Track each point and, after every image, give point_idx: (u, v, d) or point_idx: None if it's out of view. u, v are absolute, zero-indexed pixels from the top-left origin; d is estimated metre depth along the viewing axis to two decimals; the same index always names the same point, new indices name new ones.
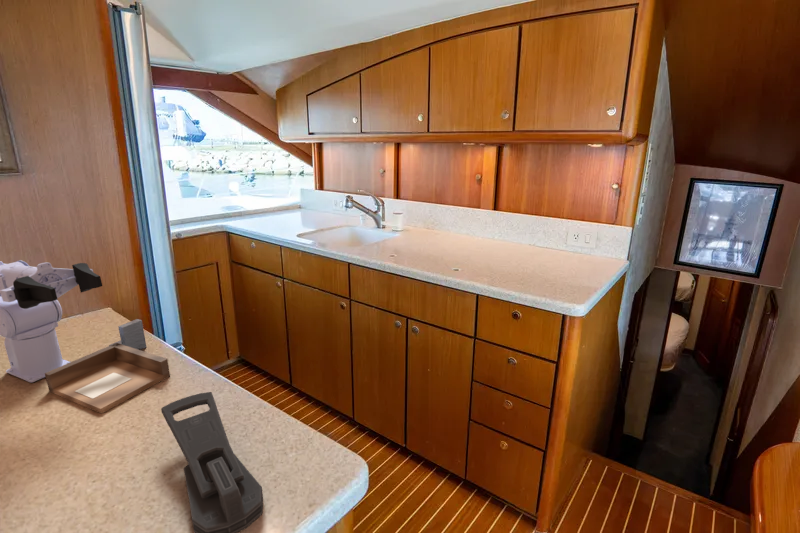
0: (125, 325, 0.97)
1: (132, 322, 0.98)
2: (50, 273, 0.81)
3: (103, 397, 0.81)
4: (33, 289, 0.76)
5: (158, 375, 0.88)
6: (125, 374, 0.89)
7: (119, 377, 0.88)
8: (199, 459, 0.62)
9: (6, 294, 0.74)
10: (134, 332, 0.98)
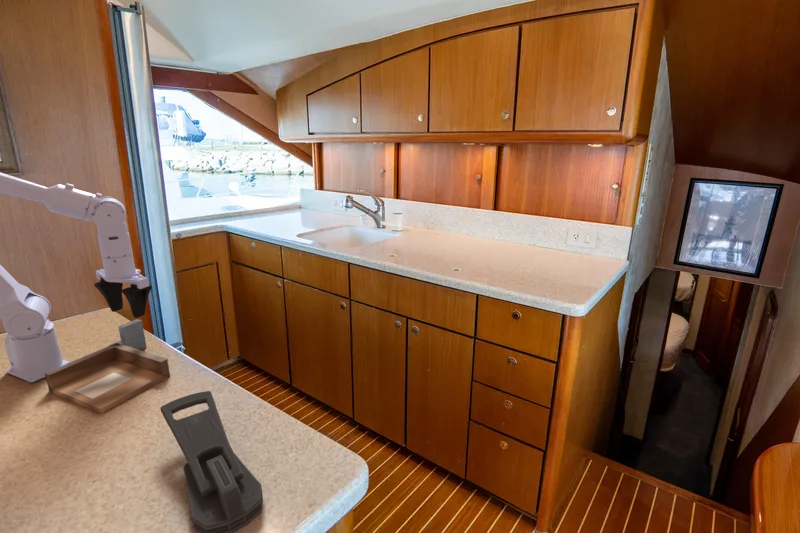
0: (125, 325, 0.97)
1: (132, 322, 0.98)
2: None
3: (103, 397, 0.81)
4: (140, 294, 0.95)
5: (158, 375, 0.88)
6: (125, 374, 0.89)
7: (119, 377, 0.88)
8: (199, 457, 0.62)
9: (146, 286, 0.93)
10: (134, 332, 0.98)
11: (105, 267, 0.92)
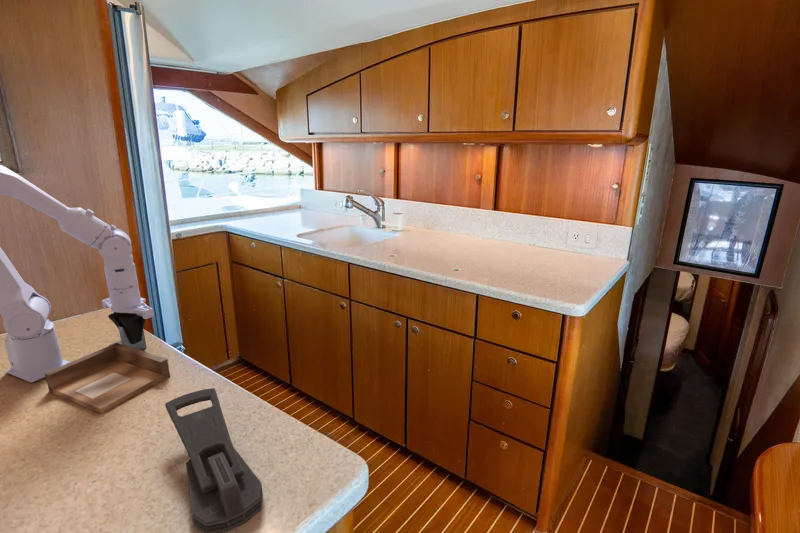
0: None
1: None
2: None
3: (103, 397, 0.81)
4: (137, 321, 0.98)
5: (158, 375, 0.88)
6: (125, 374, 0.89)
7: (119, 377, 0.88)
8: (201, 454, 0.63)
9: (151, 316, 0.95)
10: None
11: (111, 298, 0.94)
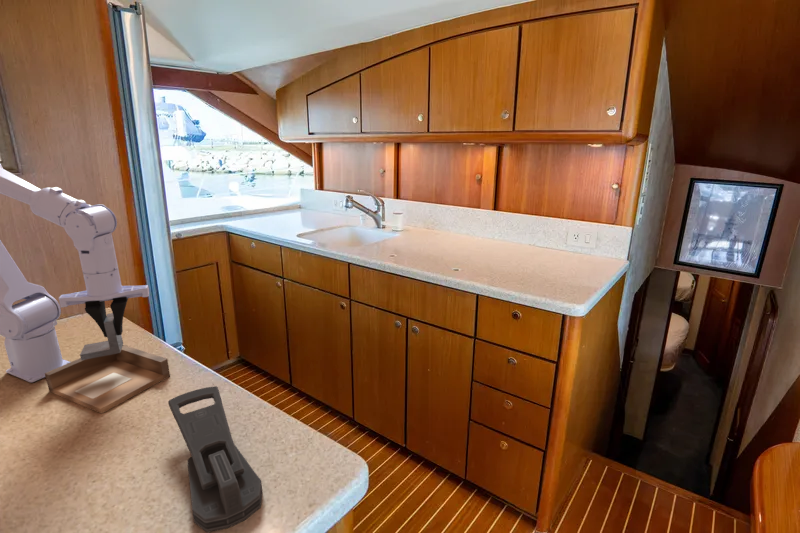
0: (111, 319, 0.85)
1: (111, 316, 0.87)
2: None
3: (103, 397, 0.81)
4: None
5: (158, 375, 0.88)
6: (125, 374, 0.89)
7: (119, 377, 0.88)
8: (202, 451, 0.63)
9: (148, 293, 0.88)
10: None
11: (99, 284, 0.81)
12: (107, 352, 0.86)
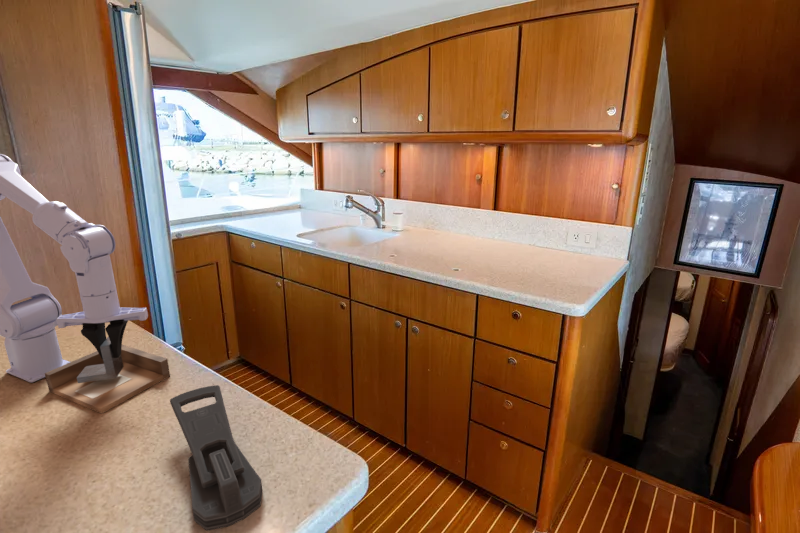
0: (108, 343, 0.83)
1: None
2: None
3: (103, 397, 0.81)
4: None
5: (158, 375, 0.88)
6: (125, 374, 0.89)
7: (119, 377, 0.88)
8: (202, 450, 0.64)
9: (147, 316, 0.85)
10: None
11: (94, 307, 0.79)
12: (103, 376, 0.84)
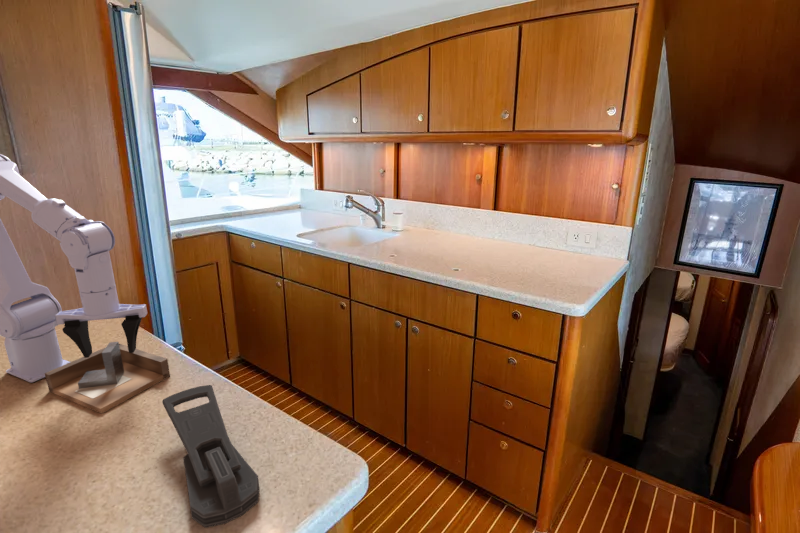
0: (110, 349, 0.84)
1: (111, 345, 0.85)
2: None
3: (103, 397, 0.81)
4: None
5: (158, 375, 0.88)
6: (125, 374, 0.89)
7: None
8: (198, 449, 0.64)
9: (146, 313, 0.85)
10: (116, 356, 0.86)
11: (93, 303, 0.79)
12: (104, 382, 0.84)
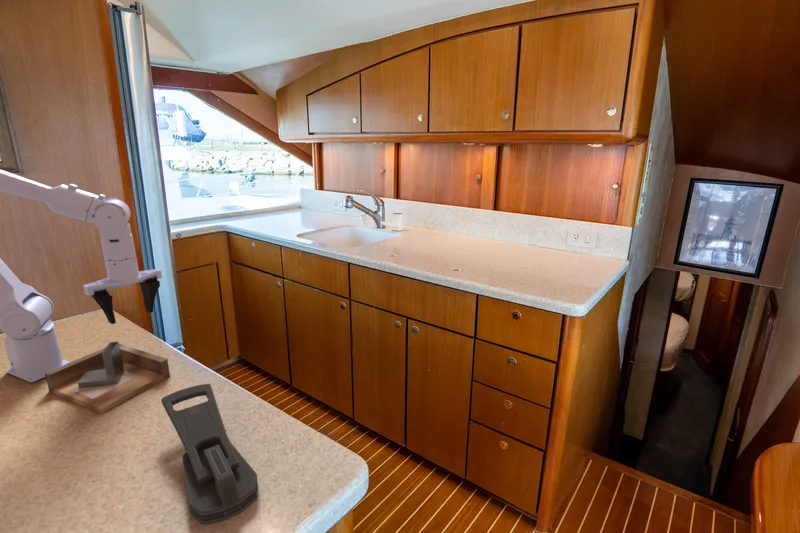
0: (110, 349, 0.84)
1: (111, 345, 0.85)
2: None
3: (103, 397, 0.81)
4: None
5: (158, 375, 0.88)
6: (125, 374, 0.89)
7: None
8: (197, 447, 0.64)
9: None
10: (116, 356, 0.86)
11: (127, 269, 0.90)
12: (104, 382, 0.84)
